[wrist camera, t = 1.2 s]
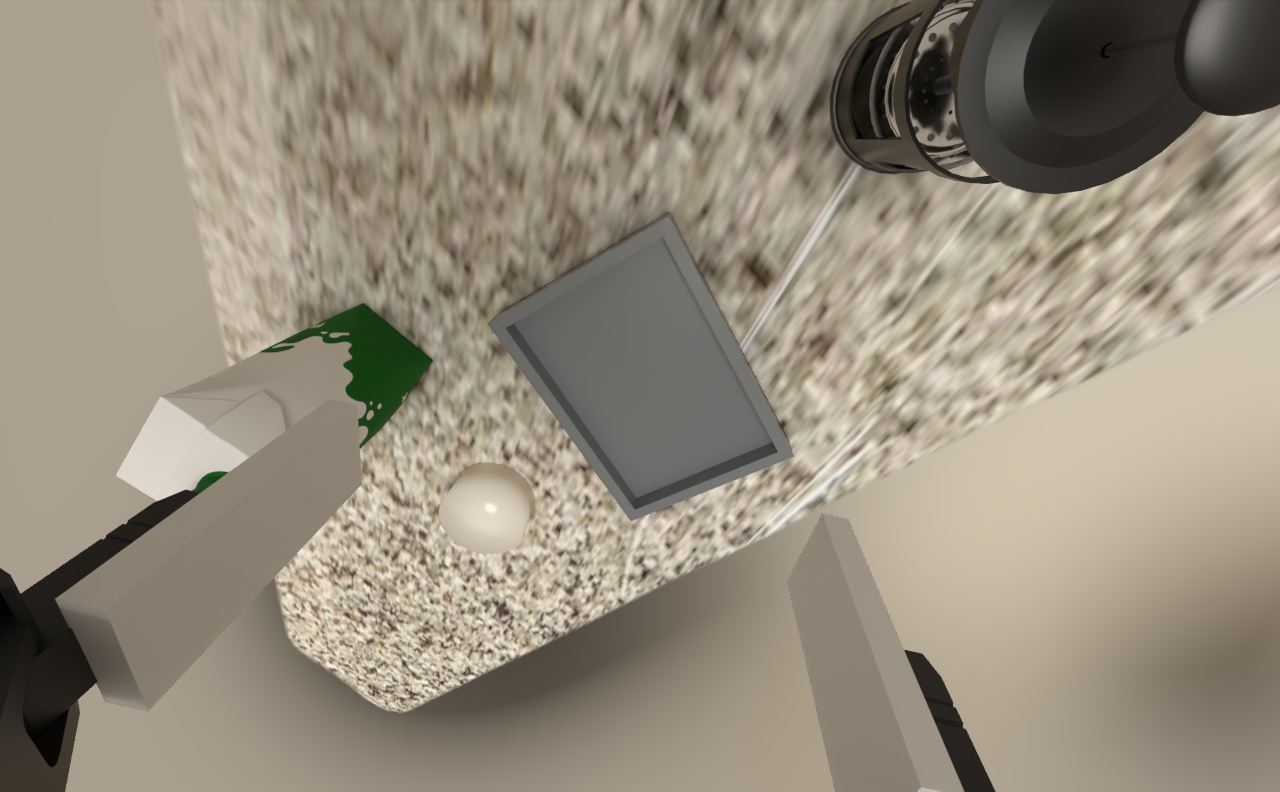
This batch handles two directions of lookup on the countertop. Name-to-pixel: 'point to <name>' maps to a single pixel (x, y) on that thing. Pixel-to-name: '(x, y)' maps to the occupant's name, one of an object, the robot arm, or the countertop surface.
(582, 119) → the countertop surface
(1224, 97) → the french press
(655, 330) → the tray
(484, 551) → the cream glossy pebble
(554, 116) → the countertop surface
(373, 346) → the soya milk
